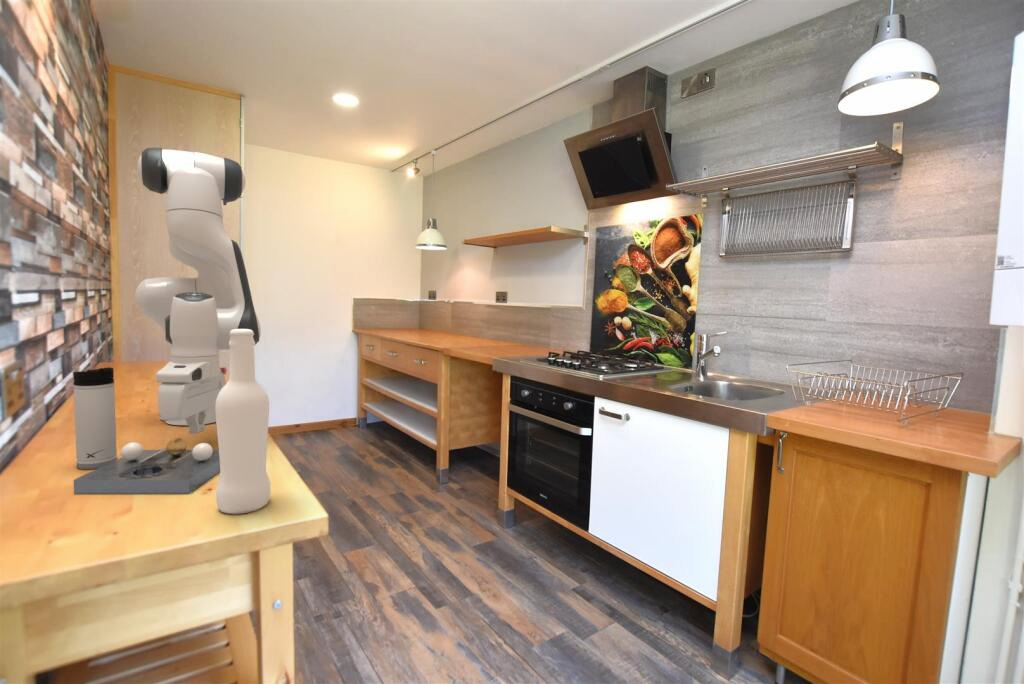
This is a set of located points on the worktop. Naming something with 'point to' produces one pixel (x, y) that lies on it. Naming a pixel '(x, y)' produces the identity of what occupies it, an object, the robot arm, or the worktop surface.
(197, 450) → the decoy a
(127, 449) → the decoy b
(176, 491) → the plate
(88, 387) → the travel mug
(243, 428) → the bottle
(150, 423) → the worktop surface
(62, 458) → the worktop surface
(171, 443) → the brass ball
